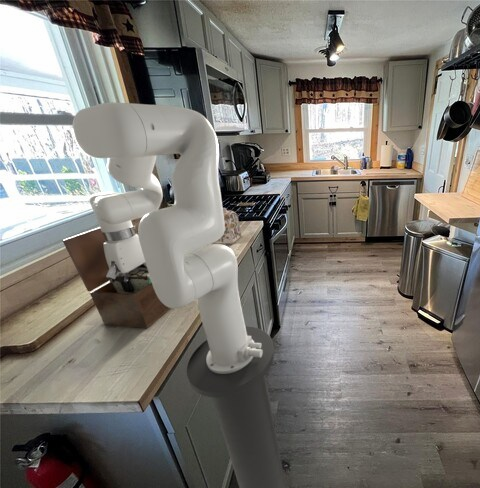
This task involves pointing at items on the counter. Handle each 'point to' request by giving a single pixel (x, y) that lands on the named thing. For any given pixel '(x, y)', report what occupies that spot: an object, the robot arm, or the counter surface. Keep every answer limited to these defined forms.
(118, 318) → the chest
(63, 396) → the counter surface
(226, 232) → the decorative jar
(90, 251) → the lid
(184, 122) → the robot arm
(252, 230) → the counter surface
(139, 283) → the food container
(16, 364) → the counter surface
